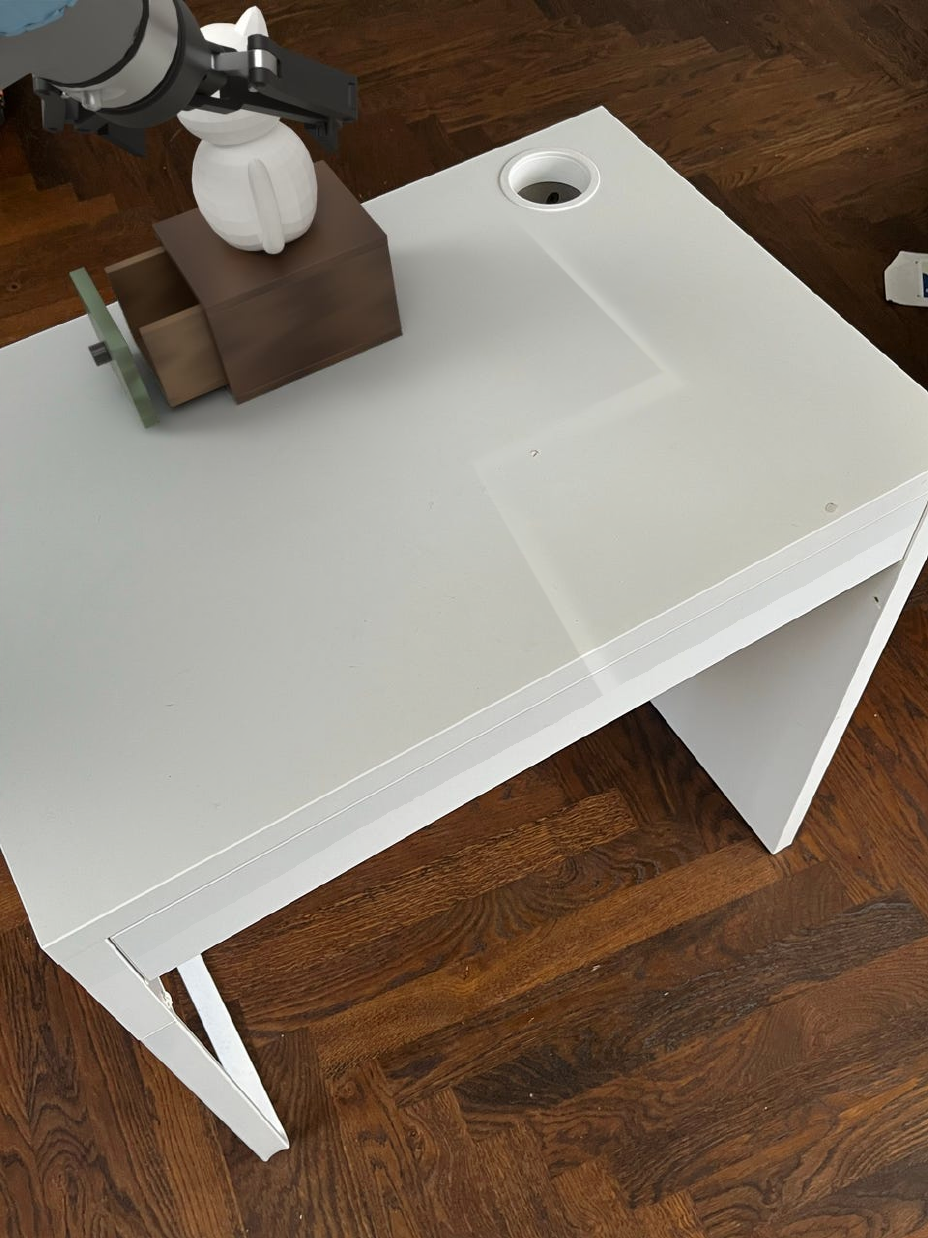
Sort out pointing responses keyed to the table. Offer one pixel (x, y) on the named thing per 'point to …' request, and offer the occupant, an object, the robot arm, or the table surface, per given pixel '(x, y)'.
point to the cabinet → (290, 291)
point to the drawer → (153, 331)
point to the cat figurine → (250, 164)
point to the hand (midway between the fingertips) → (235, 133)
